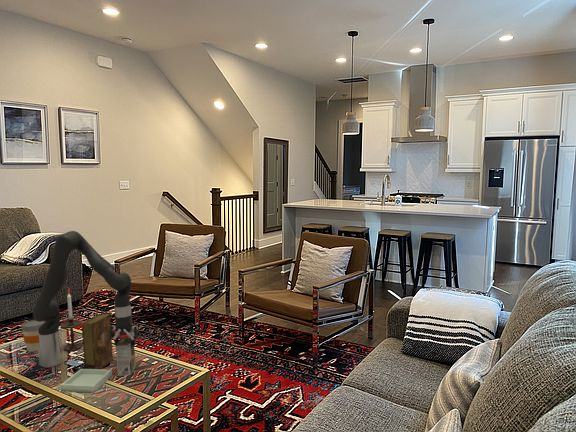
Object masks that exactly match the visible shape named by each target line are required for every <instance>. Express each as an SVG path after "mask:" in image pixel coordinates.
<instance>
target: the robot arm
mask: <svg viewBox="0 0 576 432" xmlns="http://www.w3.org/2000/svg"><path fill="white" fill-rule="evenodd" d="M73 251H79V252H80V253H81V254H83V255H84V256H85V258H86V260H87V262H88V265H89V266H90V267H91V269H92V270H93V271H94V272H96V273H97V274H98V275H100V276H101V277H102V278H103V279H104V280H105V282H106V283H107V284H108V285H109V287H111V289H113V290H115V291H116V294H115V295H114V321H115V324H111V326H110V338H112V339H113V343H114V344H113V345H114V347H116V344H117V343H118V341H119V340H120V338H119V336H123V335H124V336H127V337H130V338H131V339H132V340H131V343H132V347H134V348H135V346H136V345H137V340H136V339H138V338H139V337H140V336H141V335H140V329H139V328H140V327H139V325H138V324H136V325H133V320H132V319H133V317H132V307H131V299H130V298H131V297H130V296H131V295H130V294H131V287H132V279H131V276H130V275H129V274H128V273H126V272H122V273H119V274H118V273H117V272H116V270H115V269H116V268H115V266H114V265H113V264H112V263H110V262H109V261H108V260H106V259H105V258H104V257H103V256H102V255H100V253H98V251H96V249H94V248H93V246H92V245H91V244H90V243H89V242H88V241H87V239H85V238H84V237H83V235H82V234H80V233H79V232H78V231H76V230H70V231H67V232H65V233H62V234H60V235H59V236H57V237H56V240H55V243H54V247H53V251H52V257H51V260H50V264H49V266H48V270H47V272H46V274H45V278H44V282H43V285H42V288H41V290H40V293H39V294H38V298H37V299H36V301H35V302H34V303H35V304H34V306H33V308H32V317H33V320H36V321H38V322H42V321H45V322H44V324H43V325H42V326H40V327H39V329H38V333H39V344H40V347H39V348H38V351H37V352H38V365H39V367H41V368H53V367H56V366H59V365H60V364H61V363H62V353H61V341H60V340H61V339H60V325H61V319H60V318H61V317H60V316H61V315H60V314H61V313H60V306H59V304H58V302H57V301H56V300H55V299H54V298H55V297H56V296H57V295H58V294H59V293H60V292H61V290H62V289H63V288H64V286H65V285H66V281H67V279H68V275H69V269H68V266H67V262H68V259H69V257H70V254H71V253H72V252H73ZM115 330H116V332H115Z"/></svg>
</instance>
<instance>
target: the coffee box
mask: <svg viewBox="0 0 576 432" xmlns="http://www.w3.org/2000/svg"><path fill="white" fill-rule="evenodd" d="M131 340H132V339H131V338H130V337H129V336H122V337H120V338H119V341H118V343H117V344H116V346H115V348H116V349H115V351H116V365H117V366H116V367H117V376H120V377H122V376H131V375H132V374H133V372H134V370H135V369H136V367H137V366H136V356H135V354H136V353H135V346H134V347H132V343H131Z"/></svg>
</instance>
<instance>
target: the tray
mask: <svg viewBox="0 0 576 432" xmlns="http://www.w3.org/2000/svg"><path fill="white" fill-rule="evenodd" d="M112 377H113V370H112V369H85V368H80V369H78V370H77V371H76V372H75V373H74V374H72V375H71V376H69V378H67V379H66V380H65V381H63V382H62V383H61V384H60V386H59V387H60V388H59V389H60V392H67V393H68V392H71V393H72V392H74V393H90V394H91V393H92V394H94V393H95V392H97V390H98V389H100V388H101V387H102V386H103V385H104V384H106V382H107V381H108V380H109V379H110V378H112Z"/></svg>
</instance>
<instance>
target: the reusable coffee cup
mask: <svg viewBox="0 0 576 432" xmlns="http://www.w3.org/2000/svg"><path fill="white" fill-rule="evenodd" d="M44 322H45V321H42V322H38V321H36V320H35V319H32V320H27V321H24V322H23V323H22V324H21V331H22V338H23V342H24V344H25V347H26V350H27V352H29V353H31V352H32V353H33V352H38V348H39V347H40V344H39V333H38V329H39V327H40V326H42V325H43V324H44Z"/></svg>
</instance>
